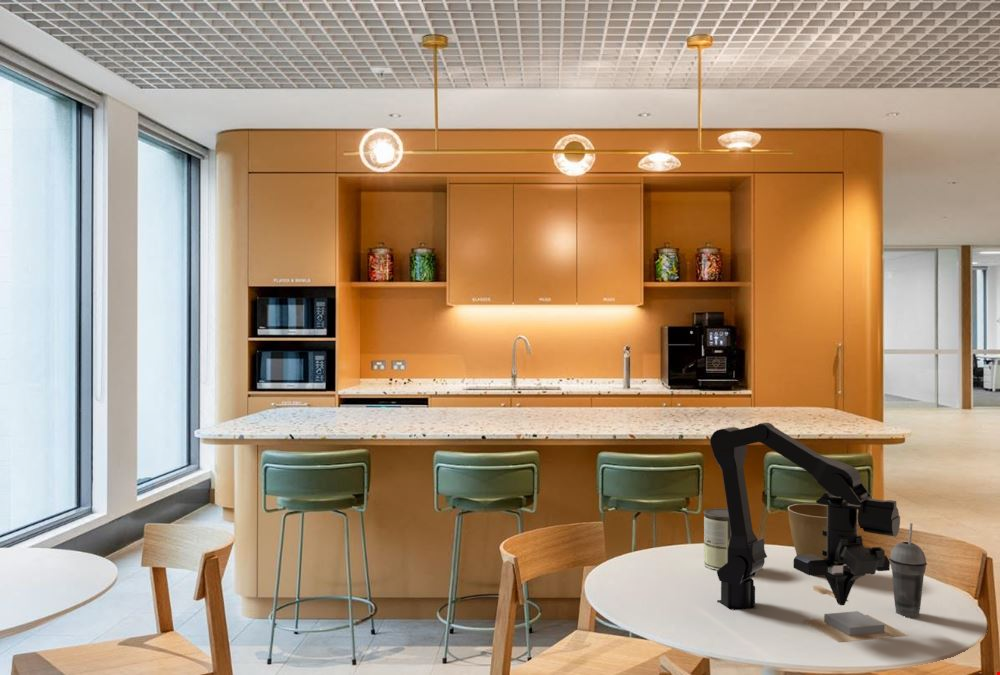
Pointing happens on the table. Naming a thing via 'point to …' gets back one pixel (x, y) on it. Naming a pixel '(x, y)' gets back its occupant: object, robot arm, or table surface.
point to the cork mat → (843, 637)
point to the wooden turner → (823, 590)
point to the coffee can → (716, 537)
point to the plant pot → (808, 528)
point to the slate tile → (854, 623)
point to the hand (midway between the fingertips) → (841, 604)
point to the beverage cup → (907, 576)
